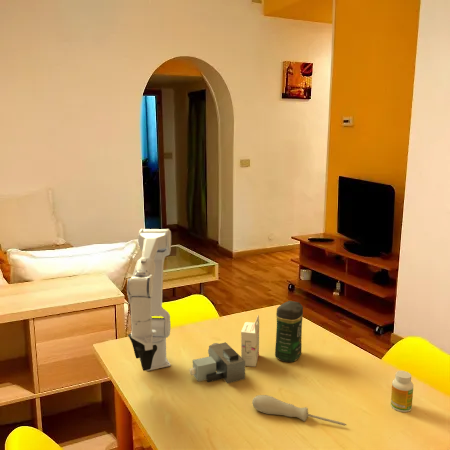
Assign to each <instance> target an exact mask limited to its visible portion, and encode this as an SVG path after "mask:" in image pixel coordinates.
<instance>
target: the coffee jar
mask: <svg viewBox="0 0 450 450" xmlns="http://www.w3.org/2000/svg"><path fill="white" fill-rule="evenodd" d="M303 309H304V306H303V305H302V303H300V302H298V301H294V300H293V301H292V300H288V301H285V302H284V303H282V304H280V305H279V306H278V307H277V308H276V314H275V315H276V316H275V318H276V334H275V337H276V338H275V348H274V355H275V356H274V357H275V358H276V359H277V360H279V361H281V362H285V363H289V362H290V363H291V362H293V363H294V362H295V361H297V360H298V359H299V358H300V357H301V355H302V345H303V344H302V336H303V335H302V330H303V315H304V310H303Z"/></svg>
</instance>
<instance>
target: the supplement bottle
mask: <svg viewBox="0 0 450 450" xmlns="http://www.w3.org/2000/svg"><path fill="white" fill-rule="evenodd" d="M413 396H414V384H413V382H412V374H411V373H410V372H409V371H405V370H398V371H396V372H395V377H394V379H393V380H392V382H391V396H390V406H391V408H392V409H393V410H394V411H397V412H400V413H408V412H410V411H411V410H412V408H413Z"/></svg>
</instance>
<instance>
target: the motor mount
mask: <svg viewBox="0 0 450 450" xmlns="http://www.w3.org/2000/svg"><path fill="white" fill-rule="evenodd" d="M207 354H208V357H210V356H211V357H212V358H213V359H214V361H215V362H216V373H212V374H207V380H206V381H207V383H211V382H214V381H220V380H224V382H225V383H226V384H230V383H235V382H238V381H242V380H243V381H244V380H246V366H245V360H244V359H243V358H242V357H241V355H240V354H239V353H238V352H237V351H235V350H234V348H232V346H230V345H229V344H228V343H227V342H221V343H219V342H213V343H212V344H211V345H209V346H208V350H207Z"/></svg>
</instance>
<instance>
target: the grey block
mask: <svg viewBox="0 0 450 450" xmlns="http://www.w3.org/2000/svg"><path fill="white" fill-rule="evenodd" d="M216 372H217V371H216V362H215V361H214V359H213V358H212V357H211V356H210V357H209V356H206V357H200V358H196V359H193V360H192V367H190V368H189V374H190V375H191V376H193V377H194V378H195V379H196V381H197V382H202V381H207V374H212V373H216Z"/></svg>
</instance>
